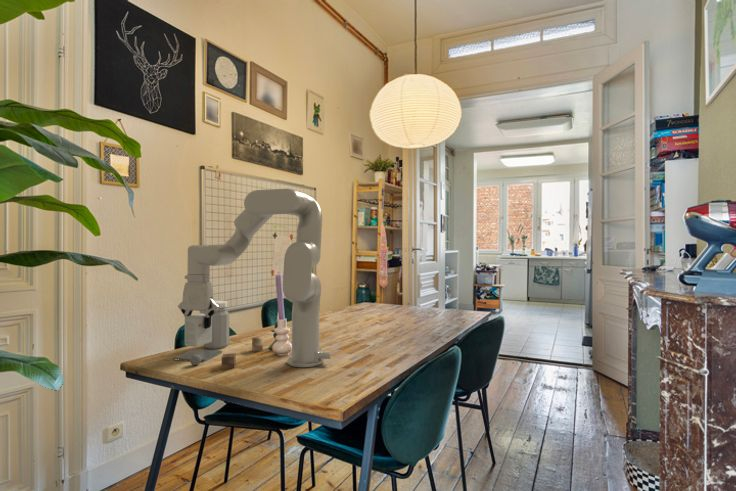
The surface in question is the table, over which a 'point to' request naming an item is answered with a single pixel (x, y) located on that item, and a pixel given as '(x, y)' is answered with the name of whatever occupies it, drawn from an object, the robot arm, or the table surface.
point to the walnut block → (228, 361)
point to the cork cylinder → (257, 344)
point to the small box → (197, 330)
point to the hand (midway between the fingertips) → (198, 327)
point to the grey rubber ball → (195, 359)
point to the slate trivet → (203, 353)
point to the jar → (219, 327)
